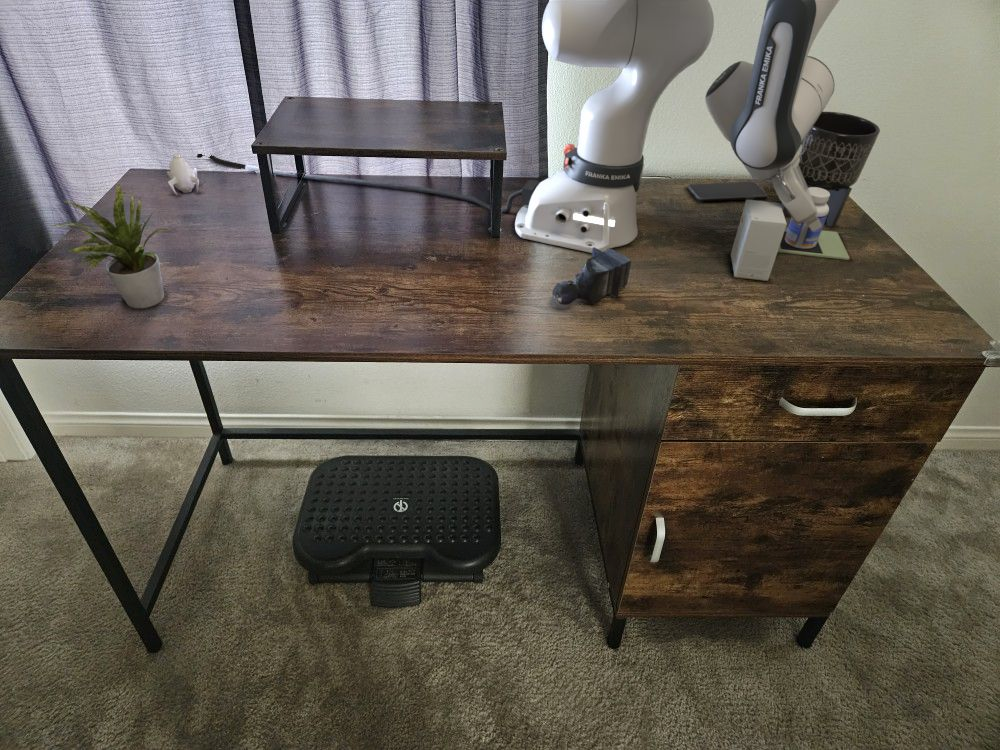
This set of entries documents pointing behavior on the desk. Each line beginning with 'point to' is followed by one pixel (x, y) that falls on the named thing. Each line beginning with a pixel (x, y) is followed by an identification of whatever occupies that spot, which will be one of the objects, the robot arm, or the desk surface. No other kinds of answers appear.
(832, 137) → the planter
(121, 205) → the house plant
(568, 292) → the dark statue fragment
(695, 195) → the smartphone
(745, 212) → the small box
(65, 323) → the desk surface
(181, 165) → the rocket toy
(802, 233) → the pill bottle
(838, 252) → the felt pad
